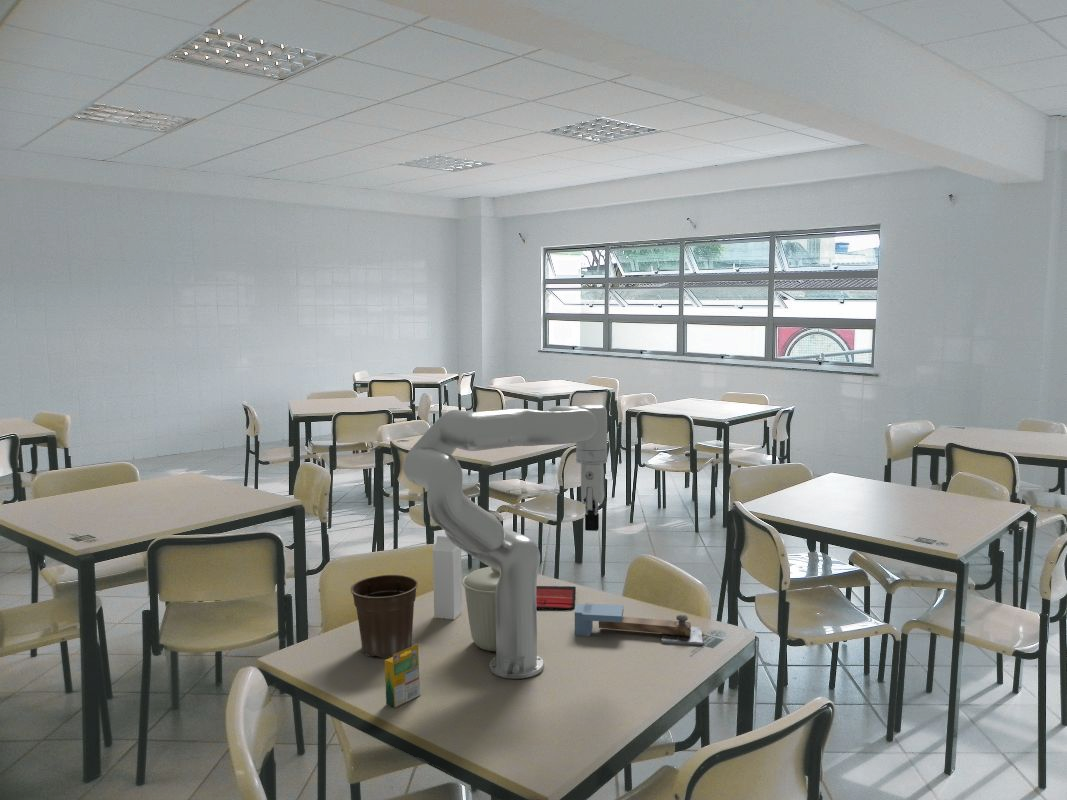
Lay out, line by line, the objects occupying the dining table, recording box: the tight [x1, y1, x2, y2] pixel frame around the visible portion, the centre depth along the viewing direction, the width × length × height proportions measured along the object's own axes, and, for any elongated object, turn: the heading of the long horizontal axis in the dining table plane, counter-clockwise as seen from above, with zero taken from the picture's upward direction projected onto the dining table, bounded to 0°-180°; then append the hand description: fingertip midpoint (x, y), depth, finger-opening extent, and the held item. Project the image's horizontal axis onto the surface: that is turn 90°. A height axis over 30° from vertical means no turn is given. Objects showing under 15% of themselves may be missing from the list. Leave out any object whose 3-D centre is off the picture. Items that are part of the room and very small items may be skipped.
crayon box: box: [384, 643, 421, 709], centre depth 169 cm, size 7×3×12 cm, turn 141°
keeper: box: [574, 602, 624, 637], centre depth 205 cm, size 8×12×6 cm, turn 80°
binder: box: [536, 585, 577, 611], centre depth 229 cm, size 16×2×21 cm
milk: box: [432, 535, 463, 621], centre depth 217 cm, size 6×6×22 cm
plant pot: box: [350, 574, 419, 659], centre depth 195 cm, size 16×16×16 cm
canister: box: [462, 566, 500, 652], centre depth 197 cm, size 18×18×21 cm
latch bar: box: [598, 614, 692, 636], centre depth 203 cm, size 23×4×4 cm, turn 76°
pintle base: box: [661, 626, 704, 646], centre depth 201 cm, size 10×10×1 cm
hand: (591, 529), depth 194 cm, fingers closed
